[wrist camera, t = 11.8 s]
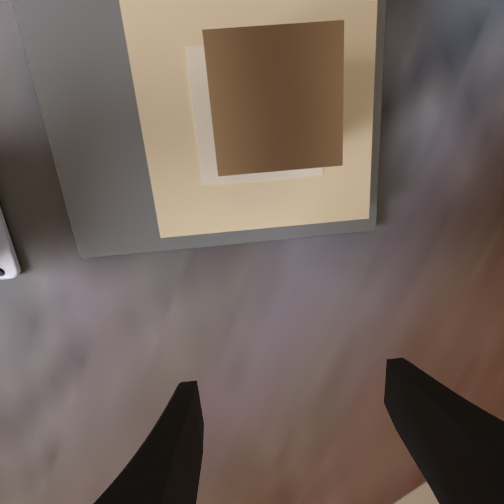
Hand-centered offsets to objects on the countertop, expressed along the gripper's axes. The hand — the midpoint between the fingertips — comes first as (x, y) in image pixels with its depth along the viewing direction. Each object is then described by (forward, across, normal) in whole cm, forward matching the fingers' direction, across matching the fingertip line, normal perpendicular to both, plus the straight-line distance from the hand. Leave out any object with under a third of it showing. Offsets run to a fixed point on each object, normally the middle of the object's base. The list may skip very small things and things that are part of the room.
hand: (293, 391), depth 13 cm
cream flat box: (+10, +2, -10) cm, 15 cm away
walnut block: (+7, 0, -10) cm, 12 cm away
